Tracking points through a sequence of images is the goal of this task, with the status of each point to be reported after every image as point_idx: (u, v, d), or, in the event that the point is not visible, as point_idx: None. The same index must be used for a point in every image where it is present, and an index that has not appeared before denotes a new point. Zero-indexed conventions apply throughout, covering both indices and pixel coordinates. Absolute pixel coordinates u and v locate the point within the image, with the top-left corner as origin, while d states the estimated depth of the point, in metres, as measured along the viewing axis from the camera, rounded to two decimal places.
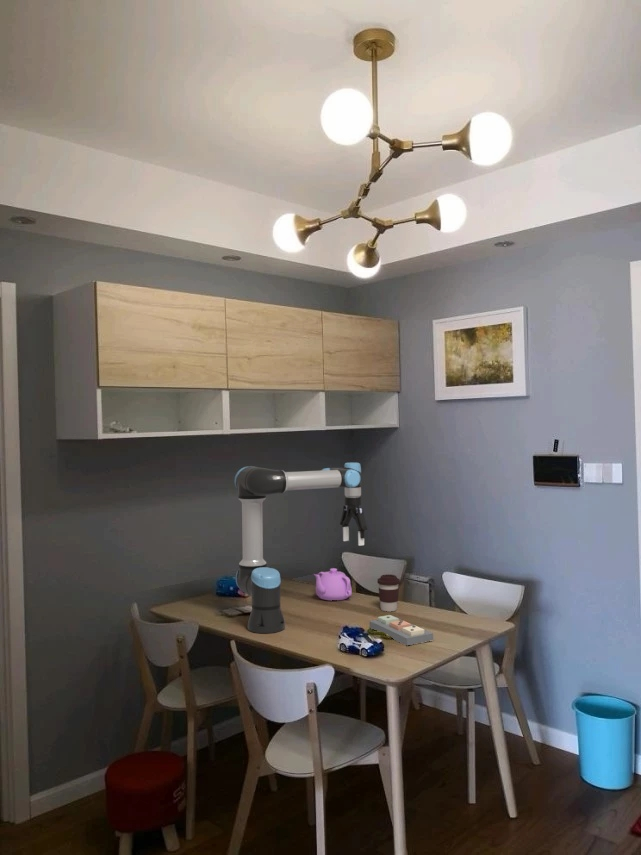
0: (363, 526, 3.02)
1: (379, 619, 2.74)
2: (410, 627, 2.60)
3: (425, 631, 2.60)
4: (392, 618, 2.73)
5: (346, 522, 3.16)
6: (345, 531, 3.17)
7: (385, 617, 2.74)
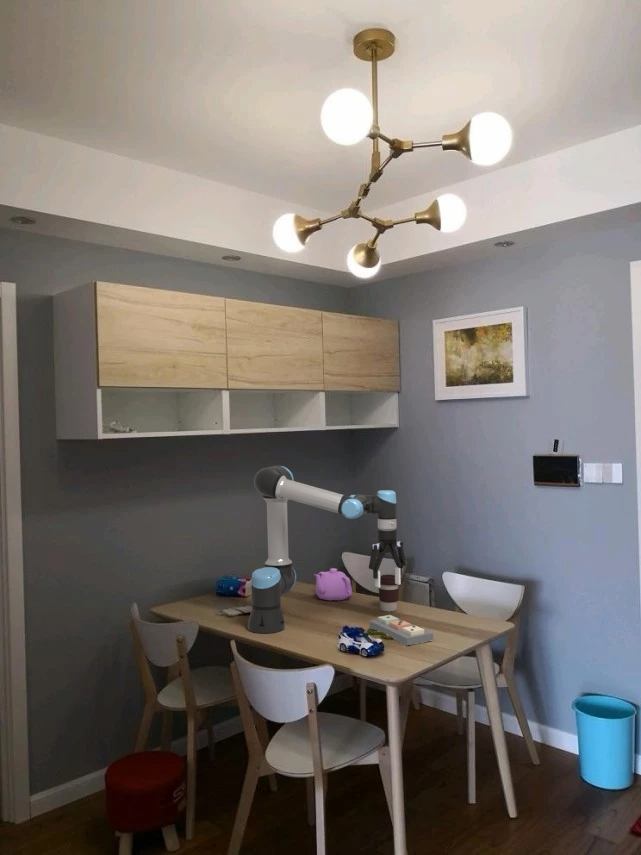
0: (370, 565, 2.70)
1: (379, 619, 2.74)
2: (410, 627, 2.60)
3: (425, 631, 2.60)
4: (392, 618, 2.73)
5: (395, 561, 2.76)
6: (396, 572, 2.76)
7: (385, 617, 2.74)
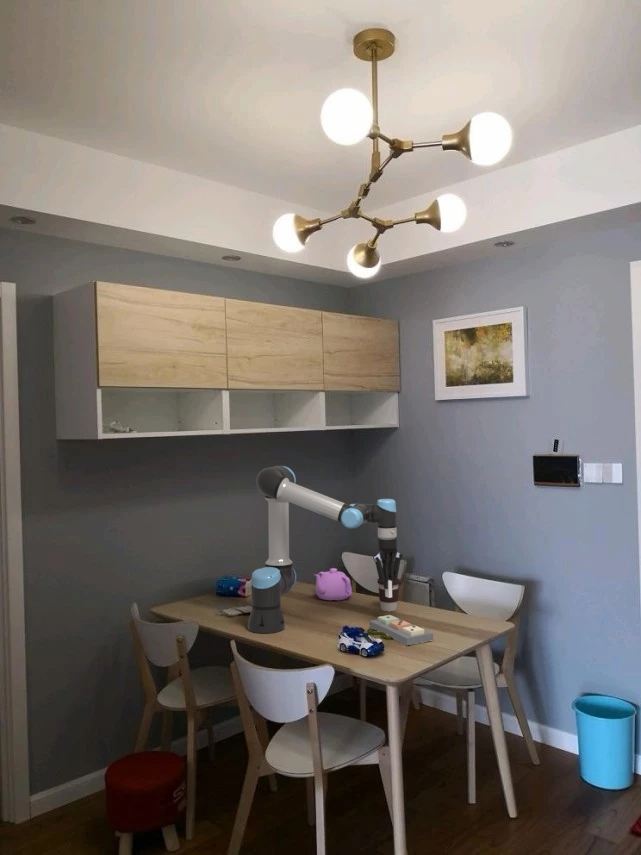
0: (379, 576, 2.72)
1: (379, 619, 2.74)
2: (410, 627, 2.60)
3: (425, 631, 2.60)
4: (392, 618, 2.73)
5: (389, 572, 2.74)
6: None
7: (385, 617, 2.74)
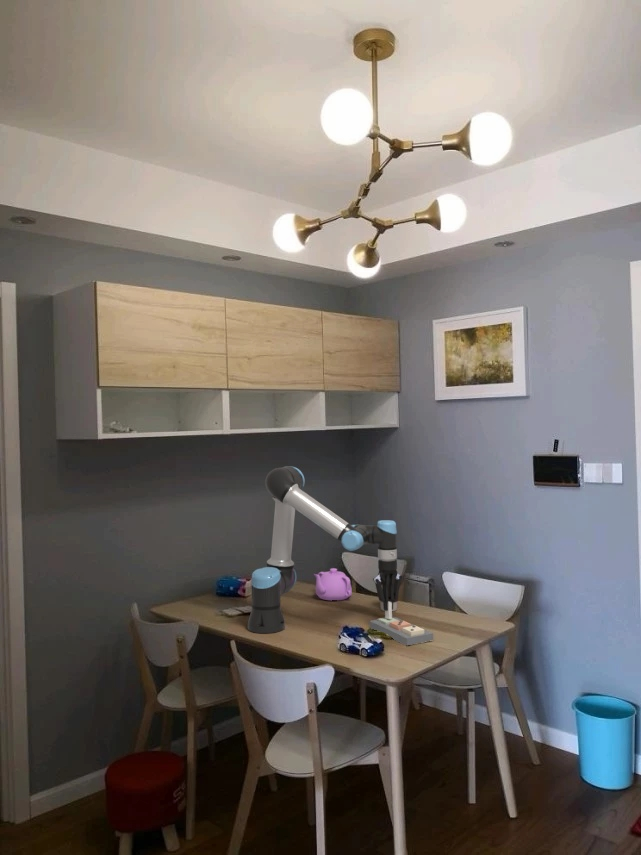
0: (379, 598, 2.72)
1: (379, 621, 2.74)
2: (410, 627, 2.60)
3: (425, 631, 2.60)
4: (392, 620, 2.73)
5: (389, 593, 2.74)
6: None
7: (385, 619, 2.74)
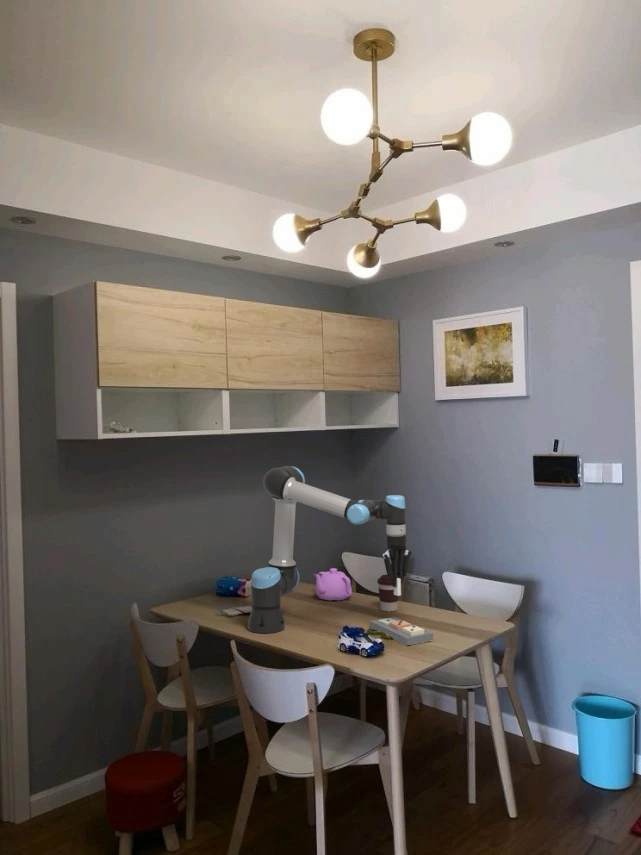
0: (388, 574, 2.67)
1: None
2: (410, 627, 2.60)
3: (425, 631, 2.60)
4: (392, 621, 2.73)
5: (397, 569, 2.69)
6: None
7: (385, 620, 2.74)
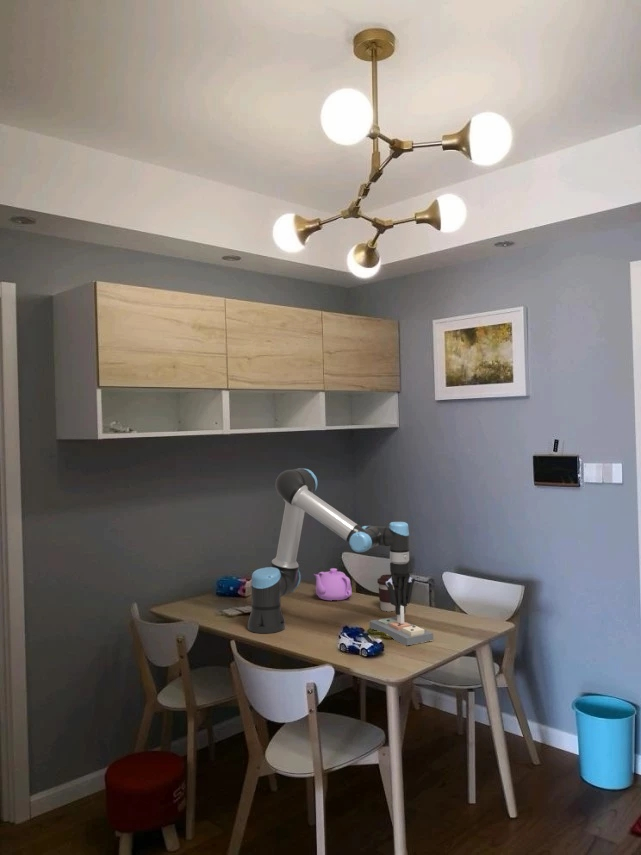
0: (391, 601, 2.65)
1: None
2: (410, 627, 2.60)
3: (425, 631, 2.60)
4: (392, 621, 2.73)
5: (401, 597, 2.67)
6: None
7: (385, 620, 2.74)
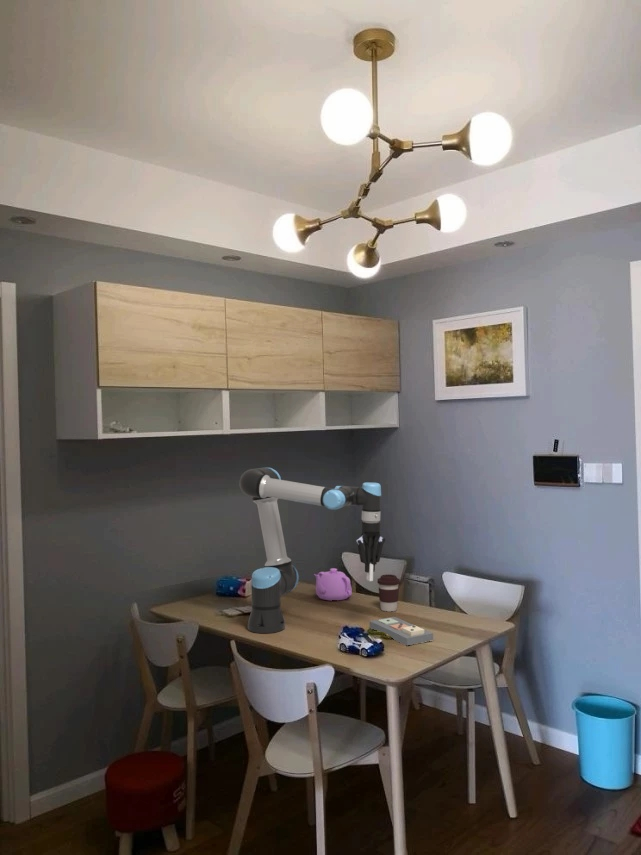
0: (361, 559, 2.72)
1: None
2: (410, 627, 2.60)
3: (425, 631, 2.60)
4: (392, 621, 2.73)
5: (371, 555, 2.74)
6: None
7: (385, 620, 2.74)
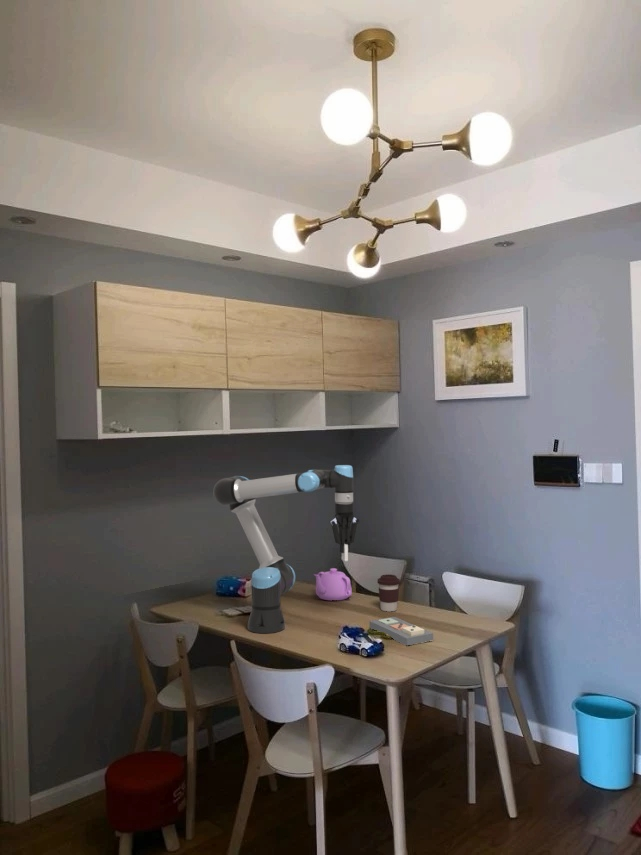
0: (335, 540, 2.78)
1: None
2: (410, 627, 2.60)
3: (425, 631, 2.60)
4: (392, 621, 2.73)
5: (345, 536, 2.80)
6: None
7: (385, 620, 2.74)
